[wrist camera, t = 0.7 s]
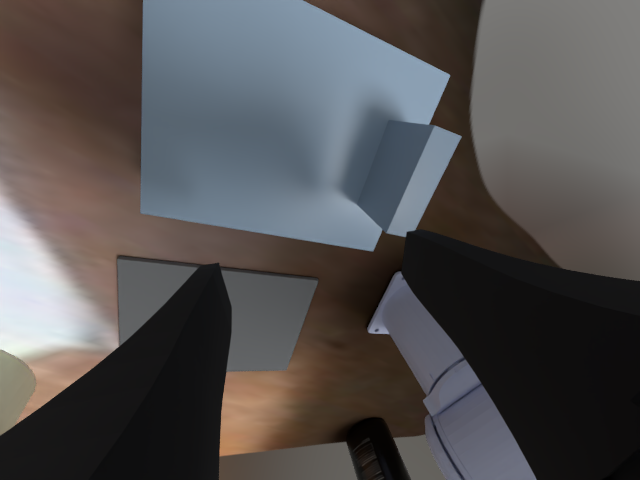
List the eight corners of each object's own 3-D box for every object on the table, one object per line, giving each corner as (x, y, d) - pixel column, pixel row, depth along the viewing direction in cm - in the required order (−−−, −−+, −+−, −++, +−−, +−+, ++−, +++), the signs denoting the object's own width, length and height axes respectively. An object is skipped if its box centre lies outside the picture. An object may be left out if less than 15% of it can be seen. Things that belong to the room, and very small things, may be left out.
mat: (317, 278, 23) (318, 280, 23) (285, 366, 28) (286, 370, 27) (119, 256, 18) (117, 259, 17) (122, 369, 22) (120, 373, 22)
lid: (431, 77, 15) (519, 65, 10) (364, 240, 19) (402, 287, 14) (158, -55, 10) (74, -201, 5) (150, 202, 14) (101, 252, 10)
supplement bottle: (346, 447, 40) (379, 564, 30) (343, 426, 37) (379, 550, 27) (386, 433, 41) (430, 541, 31) (387, 411, 38) (437, 525, 28)
